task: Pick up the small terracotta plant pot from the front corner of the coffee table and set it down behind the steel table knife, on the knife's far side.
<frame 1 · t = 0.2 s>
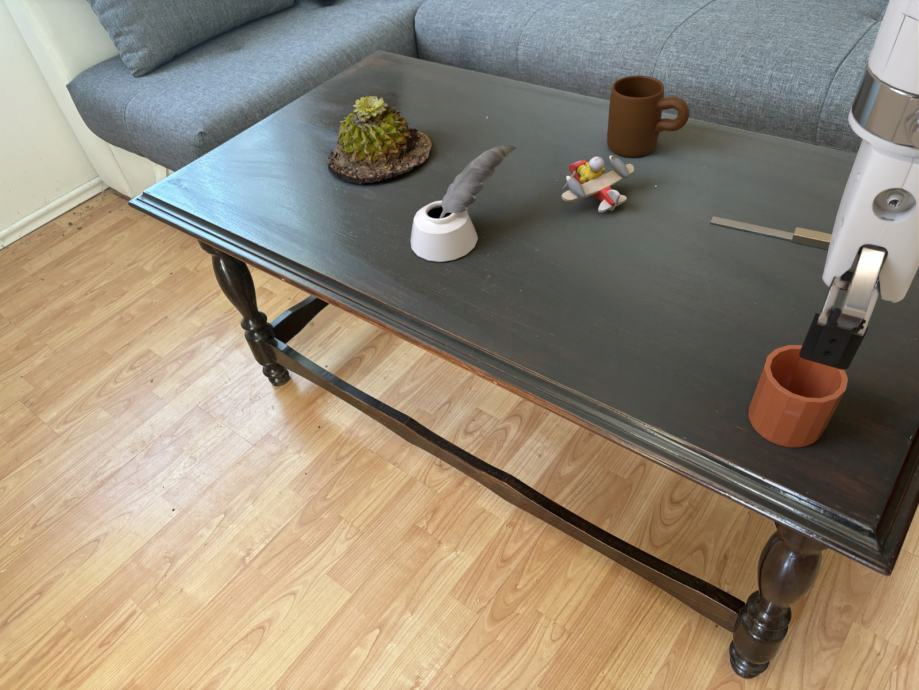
hand: (833, 317, 49), 17 cm above the table, tool pointing down, fingers open, 9 cm apart
pot: (785, 418, 64), on the table
inkwell: (468, 227, 91), on the table
toy airplane: (596, 201, 92), on the table
cactus: (380, 158, 105), on the table
knife: (779, 235, 83), on the table
mug: (644, 150, 100), on the table
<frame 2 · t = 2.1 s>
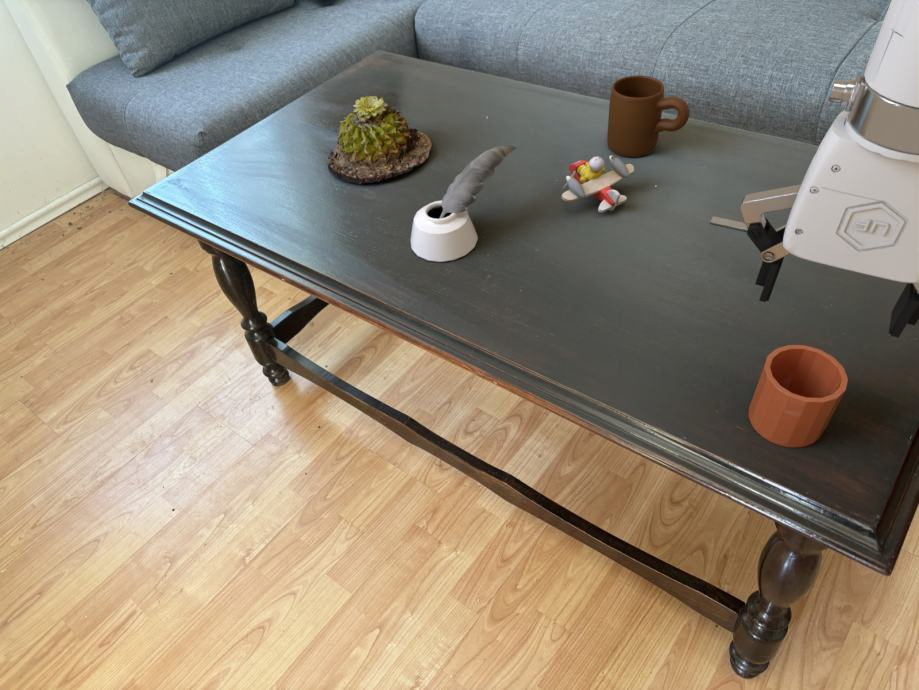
hand: (828, 307, 54), 15 cm above the table, tool pointing down, fingers open, 9 cm apart
nothing on the table moved.
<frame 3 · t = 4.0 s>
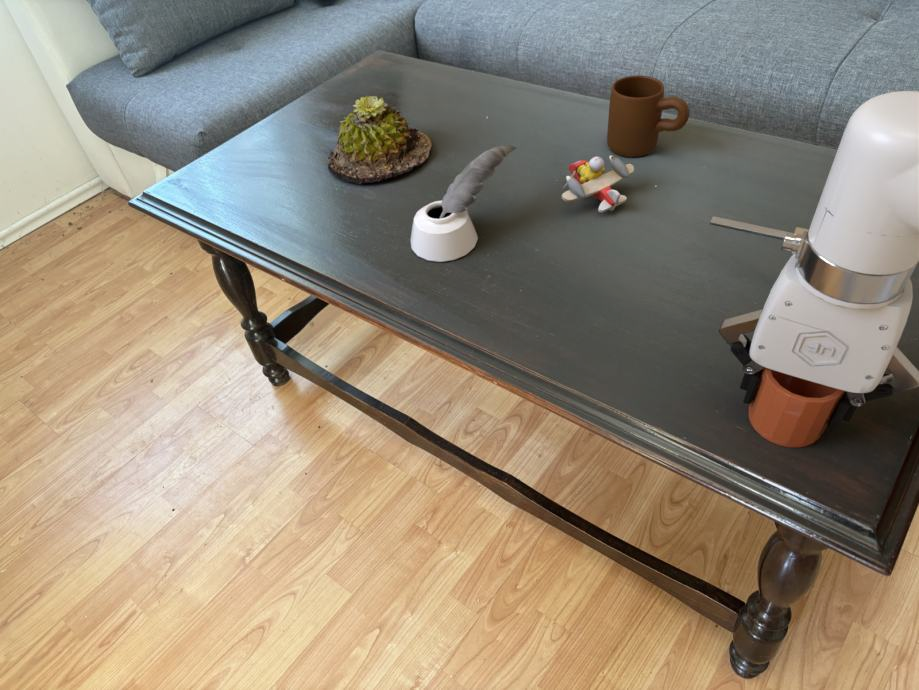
hand: (791, 405, 63), 2 cm above the table, tool pointing down, fingers closed on pot, 6 cm apart
pot: (785, 418, 64), on the table, touching gripper
everything else where it was.
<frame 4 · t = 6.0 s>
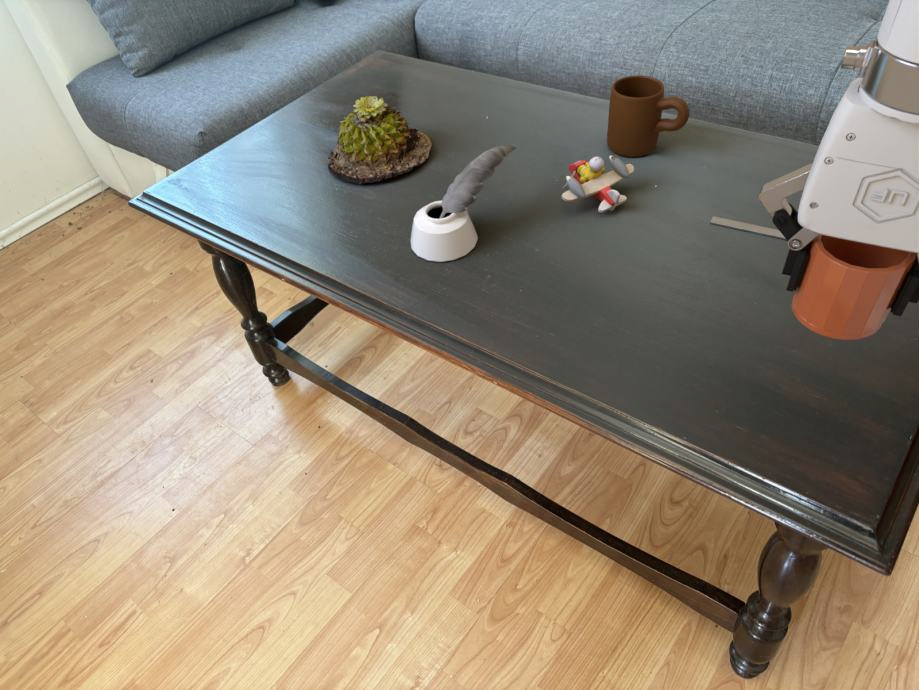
hand: (844, 290, 53), 16 cm above the table, tool pointing down, fingers closed on pot, 6 cm apart
pot: (836, 310, 54), point 14 cm above the table, touching gripper
everything else where it was.
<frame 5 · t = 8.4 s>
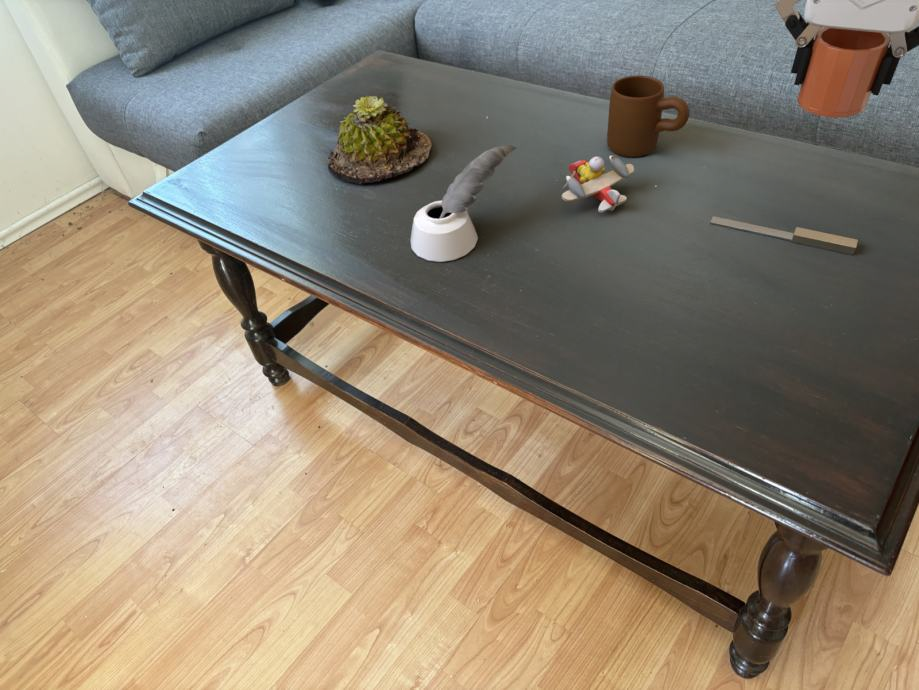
hand: (837, 83, 70), 19 cm above the table, tool pointing down, fingers closed on pot, 6 cm apart
pot: (830, 102, 72), point 17 cm above the table, touching gripper
everything else where it was.
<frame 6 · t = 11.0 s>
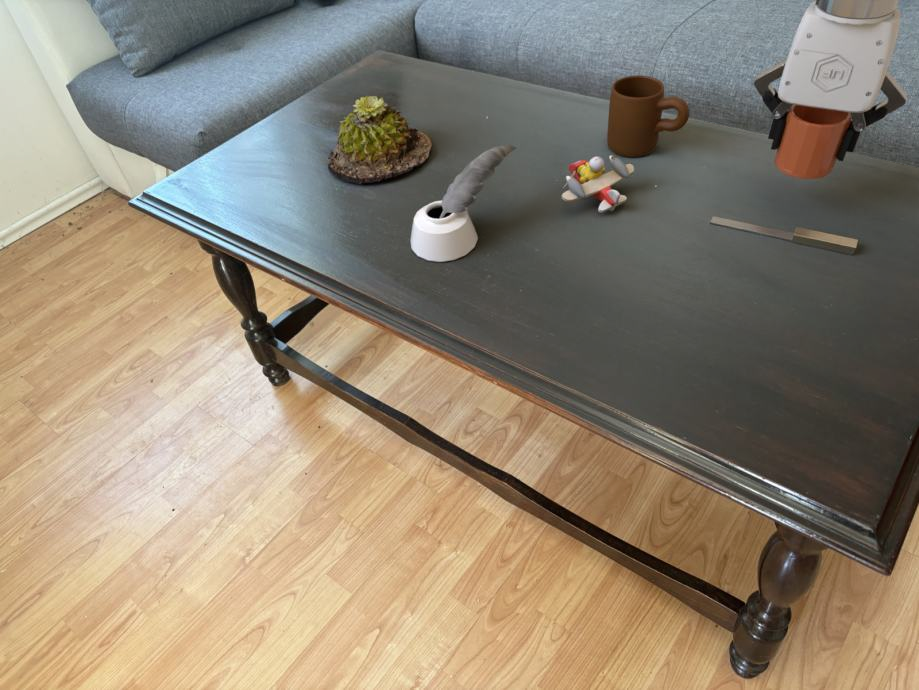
hand: (808, 148, 81), 8 cm above the table, tool pointing down, fingers closed on pot, 6 cm apart
pot: (803, 164, 82), point 6 cm above the table, touching gripper
everything else where it was.
when the fingers open (2 cm above the table, at t = 13.0 s): pot stays where it is, on the table.
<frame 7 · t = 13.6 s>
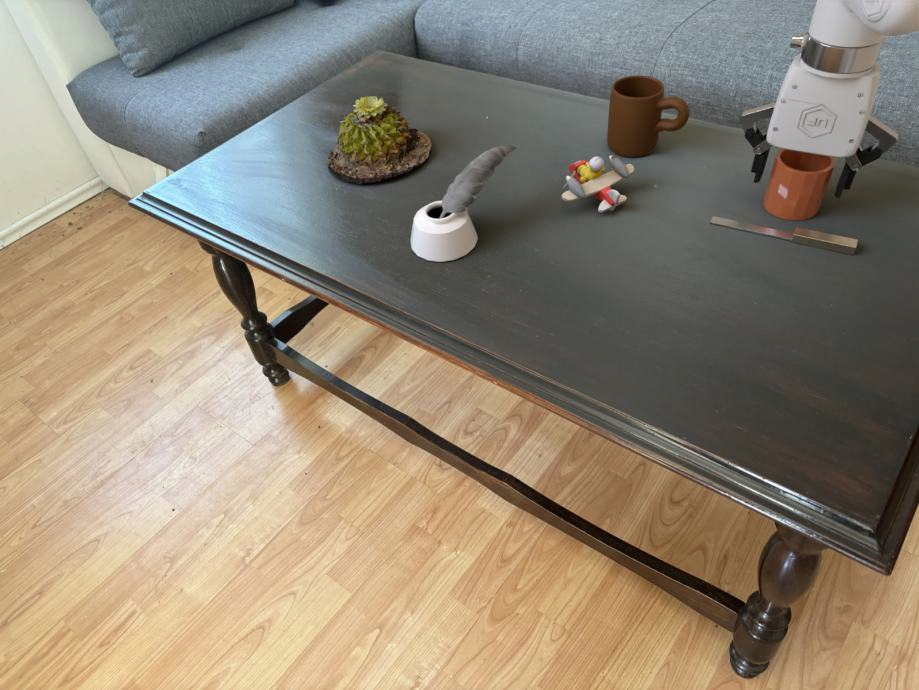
hand: (797, 184, 85), 3 cm above the table, tool pointing down, fingers open, 9 cm apart
pot: (790, 205, 87), on the table
everything else where it was.
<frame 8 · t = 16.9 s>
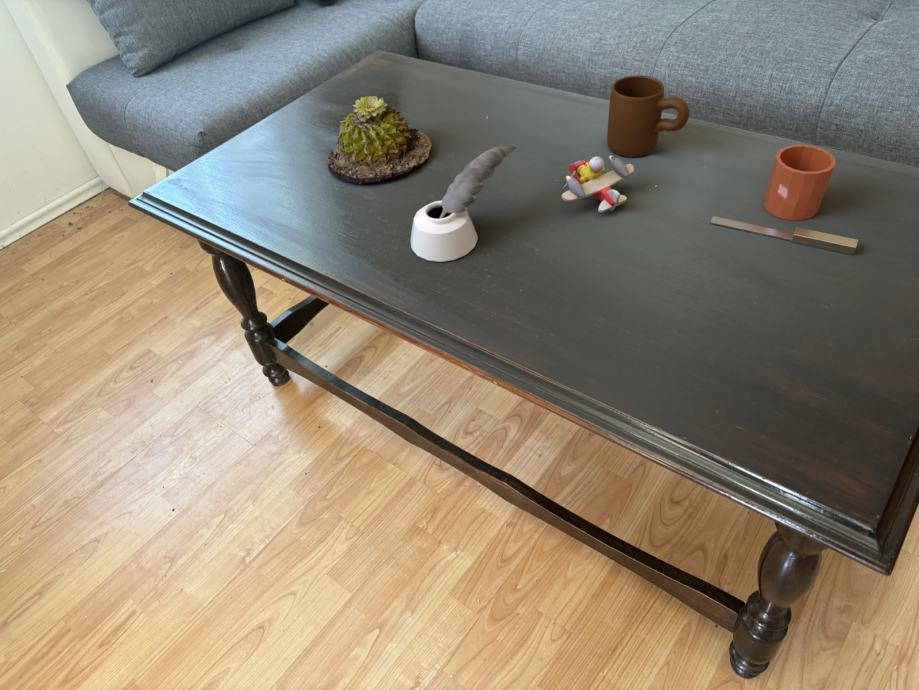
nothing on the table moved.
at the end: pot inside the target area on the table beside the knife (0.5 cm from its centre), on the table; pot tilted 0°; the gripper is holding nothing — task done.
